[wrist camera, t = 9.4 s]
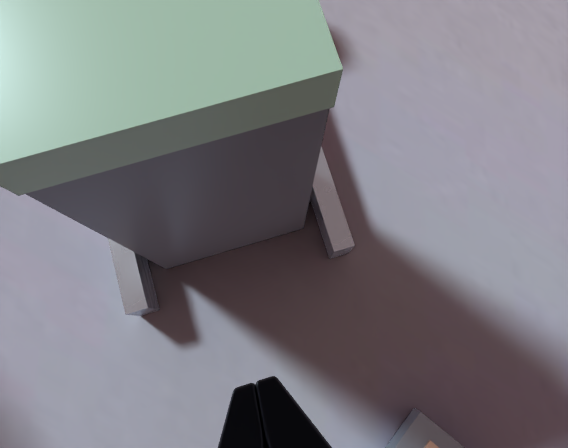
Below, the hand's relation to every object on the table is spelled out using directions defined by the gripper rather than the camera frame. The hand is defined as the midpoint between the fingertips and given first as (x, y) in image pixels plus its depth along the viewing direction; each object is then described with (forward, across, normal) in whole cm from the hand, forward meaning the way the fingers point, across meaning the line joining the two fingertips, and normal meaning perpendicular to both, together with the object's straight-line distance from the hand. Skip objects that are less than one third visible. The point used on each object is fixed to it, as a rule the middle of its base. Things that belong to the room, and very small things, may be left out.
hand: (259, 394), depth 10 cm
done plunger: (+9, 0, +1) cm, 9 cm away
